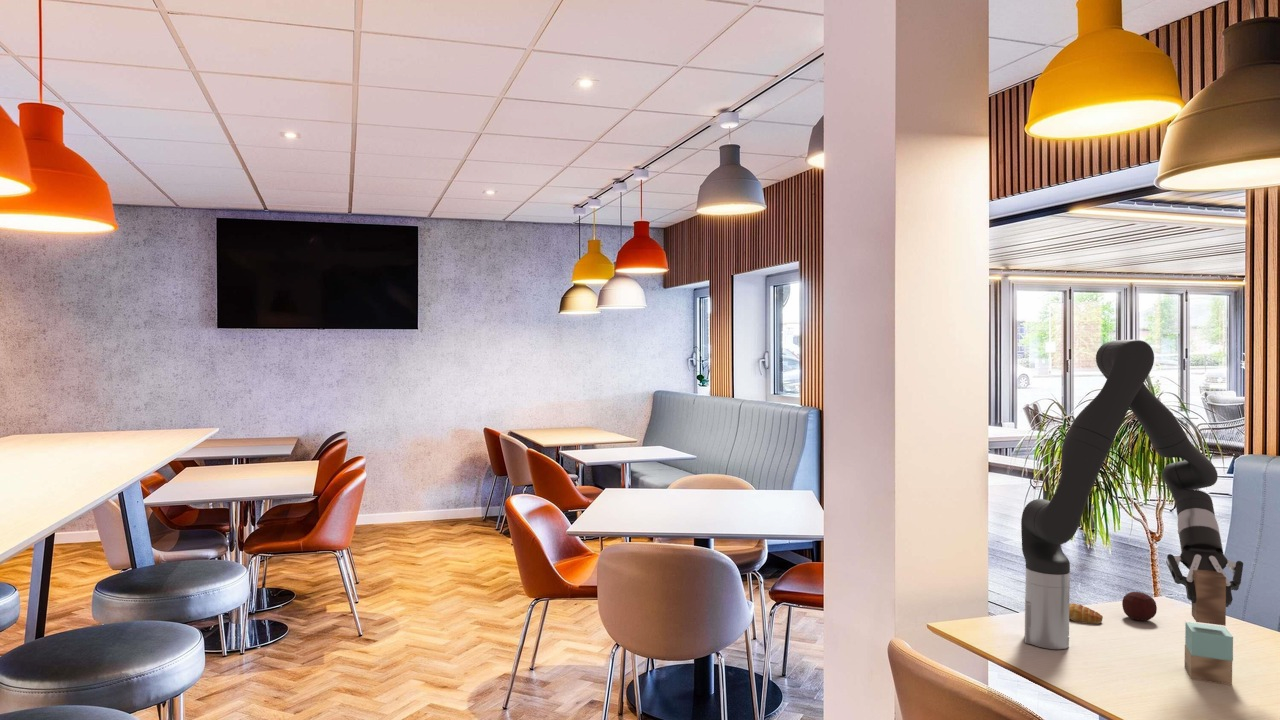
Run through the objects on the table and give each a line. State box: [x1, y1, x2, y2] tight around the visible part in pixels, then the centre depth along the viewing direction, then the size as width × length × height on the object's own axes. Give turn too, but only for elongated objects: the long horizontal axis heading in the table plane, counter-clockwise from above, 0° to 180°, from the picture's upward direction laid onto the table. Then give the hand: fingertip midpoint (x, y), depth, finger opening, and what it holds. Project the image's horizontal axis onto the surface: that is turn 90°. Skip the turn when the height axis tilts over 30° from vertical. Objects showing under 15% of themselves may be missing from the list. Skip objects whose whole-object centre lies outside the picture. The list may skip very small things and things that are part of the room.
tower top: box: [1184, 621, 1234, 662], centre depth 165 cm, size 7×7×5 cm
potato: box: [1121, 591, 1158, 622], centre depth 201 cm, size 7×8×7 cm
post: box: [1191, 569, 1227, 627], centre depth 165 cm, size 5×5×10 cm
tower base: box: [1183, 644, 1233, 686], centre depth 165 cm, size 7×7×5 cm
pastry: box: [1069, 602, 1103, 625], centre depth 201 cm, size 9×7×4 cm
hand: (1210, 602), depth 163 cm, fingers closed on post, 5 cm apart
